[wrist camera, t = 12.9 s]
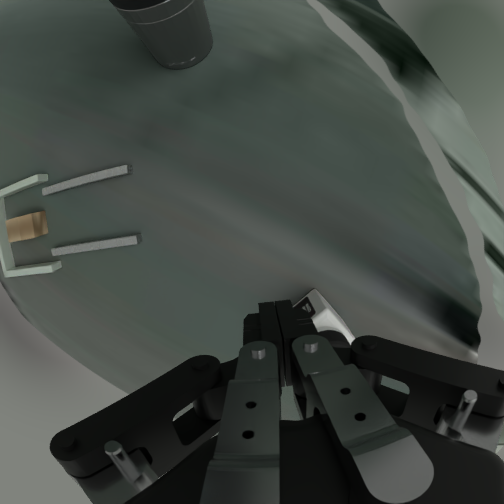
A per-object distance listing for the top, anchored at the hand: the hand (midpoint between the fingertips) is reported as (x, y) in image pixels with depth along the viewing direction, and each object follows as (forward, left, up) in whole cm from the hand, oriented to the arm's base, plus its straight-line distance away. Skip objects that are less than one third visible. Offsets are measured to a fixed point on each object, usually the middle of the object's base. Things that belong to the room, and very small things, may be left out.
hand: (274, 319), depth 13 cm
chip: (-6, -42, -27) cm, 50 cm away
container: (+15, +7, -27) cm, 32 cm away
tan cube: (-6, -38, -27) cm, 47 cm away
